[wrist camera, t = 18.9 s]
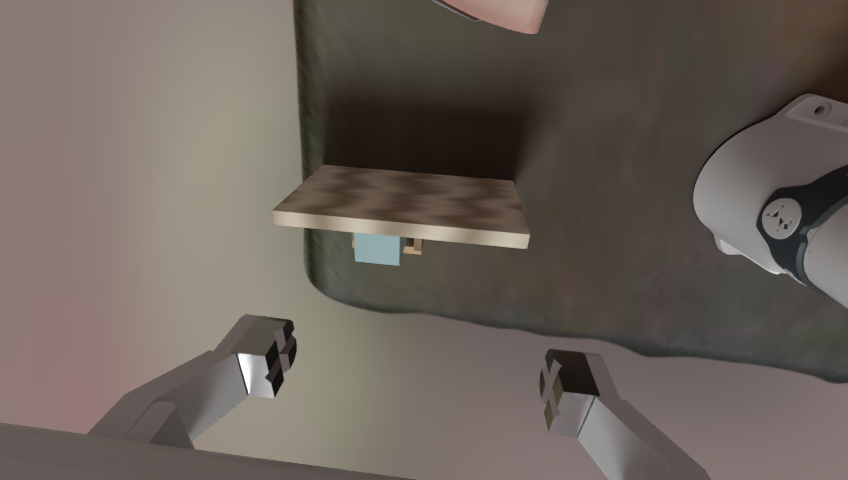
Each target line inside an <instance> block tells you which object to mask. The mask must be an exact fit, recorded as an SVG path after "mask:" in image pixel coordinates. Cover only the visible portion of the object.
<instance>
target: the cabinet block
mask: <svg viewBox="0 0 848 480" xmlns="http://www.w3.org/2000/svg"><path fill="white" fill-rule="evenodd" d="M406 241H407V237H397V236H387V235H377V234H366V233H356V232H354V245H355V261H358V262H368V263H378V264H387V265H397V266H399V264H400V261H401V258H402V254H403V251H404V247H405V244H406Z"/></svg>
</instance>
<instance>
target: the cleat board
mask: <svg viewBox="0 0 848 480" xmlns="http://www.w3.org/2000/svg"><path fill="white" fill-rule="evenodd" d="M272 214H273V219H274V224H275V225H283V226H294V227H303V228H314V229H324V230H335V231H345V232H352V248H355V245H354V232H356V233H366V234H377V235H387V236H397V237H407V241H406V244H405V247H404V251H403V253H410V254H420V255H421V253H422V248H423V243H424V239H429V240H439V241H450V242H460V243H470V244H481V245H491V246H502V247H512V248H523V249H527V246H528V242H529V237H530V233H529V230H528V227H527V224H526V220H525V217H524V214H523V211H522V208H521V205H520V202H519V199H518V195H517V192H516V189H515V186H514V183H513V181H510V180H498V179H486V178H475V177H463V176H451V175H439V174H427V173H415V172H404V171H392V170H380V169H368V168H356V167H344V166H333V165H322V166H321V167H320V168H319V169H318V170H317V171H315V172H314V173H313V174H312V175H311V176H310V177H309V178H308V179H307V180H305V181H304V182H303V183H302V184H301V185H300V186H299V187H298V188H297V189H295V190H294V191H293V192H292V193H291V194H290V195H289V196H288V197H287V198H285V199H284V200H283V201H282V202H281V203H280V204H279V205H278V206H276V208H274V209H273V210H272Z"/></svg>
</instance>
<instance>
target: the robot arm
mask: <svg viewBox="0 0 848 480" xmlns="http://www.w3.org/2000/svg"><path fill="white" fill-rule="evenodd" d="M818 107H819V109H818V111H817V112H815V110H816V109H817V108H818ZM693 200H694V208H695V211H696V214H697V216H698V217H699V219H700V220H701V222H702V223H703V224H704V225H705V226H706V227H707V228H709V229H710V230H711V231H712V233H713V234H714V237H715V241H716V245H717V247H718V249H719V250H721V251H722V252H724V253H726V254H729V255H734V254H742V255H744V256H746V257H747V258H749V259H750V260H752V261H753V262H755V263H756V264H758V265H760V266H761V267H763V268H764V269H766V270H767V271H769V272H771V273H774V274H779V273H788V274H789V275H790V276H791V277H792V278H794V279H795V280H797V281H798V282H800V283H801V284H803V285H805V286H808V287H809V288H811V289H812V290H814V291H816V292H818V293H821V294H824V295H828V296H831V297H832V298H833V299H835V300H836V301H838V302H839V303H840V304H842V305H843V306H845V307H846V308H847V309H848V104H846V103H843V102H839V101H836V100H832V99H829V98H826V97H822V96H819V95H816V94H804V95H801V96H800V97H798V98H796V99H795V100H793V101H792V102H791V103H789V104H788V105H787V106H785V107H784V108H783V109H782V110H780V111H779V112H778V113H777V114H776V115H774V116H773V117H771V118H769V119H767V120H765V121H762V122H760V123H758V124H756V125H753V126H751V127H749V128H747V129H745V130H743V131H742V132H740V133H738V134H737V135H735V136H734V137H732V138H731V139H730V140H728V141H727V142H726V143H725V144H723V145H722V146H721V147H720V148H719V149H718V150H717V151H716V152H715V153H714V154H713V155H712V156H711V158H710V159H709V160H708V162H707V163H706V164H705V166H704V167H703V169H702V171H701V173H700V175H699V177H698V179H697V182H696V185H695V189H694V197H693ZM293 331H294V325H293V321H291V320H287V319H280V318H273V317H265V316H255V315H248V314H246V315H244V316H242V317H241V318H240V319H239V320H238V322H237V323H236V324H235V325H234V327H233V328H232V329H231V330H230V331H229V333H228V334H227V335H226V336H225V338H224V339H223V340H222V341H221V343H220V344H219V345H218V346H217V348H216V349H215V350H214V351H207V352H205V353H203V354H202V355H200V356H198V357H196V358H194V359H192V360H190V361H188V362H186V363H184V364H182V365H180V366H178V367H177V368H175V369H173V370H171V371H169V372H167V373H165V374H163V375H161V376H160V377H158V378H155V379H154V380H152V381H150V382H148V383H146V384H144V385H142V386H140V387H138V388H136V389H134V390H133V391H131V392H129V393H127V394H125V395H124V396H123V397H122V398H121V399H120V400H119V401H118V402H117V403H116V404H115V405H114V406H113V407H112V408H111V409H110V410H109V411H108V412H107V414H106V415H105V416H104V417H103V418H102V419H101V420H100V421H99V422H98V423H97V424H96V425H95V426H94V427H93V428H92V429H91V430H90V431H89V432H88V433H87V434H79V433H72V432H65V431H58V430H50V429H43V428H36V427H28V426H21V425H14V424H7V423H0V480H414V479H407V478H400V477H392V476H385V475H377V474H371V473H363V472H356V471H348V470H341V469H334V468H327V467H320V466H312V465H305V464H297V463H291V462H283V461H276V460H268V459H261V458H254V457H247V456H240V455H232V454H225V453H218V452H209V451H203V450H196V449H195V448H194V446H193V443H192V441H193V440H194V439H195V438H197V437H198V436H199V435H200V434H202V433H203V432H204V431H206V430H207V429H208V428H209V427H211V426H212V425H213V424H214V423H216V422H217V421H218V420H219V419H221V418H222V417H223V416H224V415H226V414H227V413H228V412H230V411H231V410H232V409H233V408H235V407H236V406H237V405H238V404H240V403H241V402H242V401H243V400H245V399H246V398H247V397H248V396H259V397H268V398H275V396H276V395H277V393H278V391H279V389H280V387H281V385H282V383H283V381H284V376H283V373H284V372H286V371H287V370H289V369H290V368H291V366H292V364H293V362H294V360H295V356H296V352H297V343H296V339H295V338H294V337H293V336H292V335H291V334H292V332H293ZM545 360H546V364H547V365H545V366H544V367H542V369H541V373H540V380H539V388H540V395H541V399H542V400H543V401H544V403H545V404H546V407H545V410H544V415H545V419H546V424H547V429H548V432H549V433H554V434H561V435H566V436H573V437H578V440H579V441H580V443H581V444H582V445H583V447H584V448H585V449H586V450H587V452H588V453H589V454H590V456H591V457H592V458H593V459H594V461H595V462H596V463H597V465H598V466H599V467H600V469H601V470H602V471H603V473H604V474H605V475H606V477H607V478H608V479H609V480H711V479H710V477H709V476H708V474H707V472H706V470H705V469H703V468H702V467H701V466H700V465H699V464H698V463H697V462H695V461H694V460H693V459H692V458H691V457H690V456H689V455H688V454H686V453H685V452H684V451H683V450H682V449H681V448H680V447H678V446H677V445H676V444H675V443H674V442H673V441H672V440H671V439H669V438H668V437H667V436H666V435H665V434H664V433H663V432H661V431H660V430H659V429H658V428H657V427H656V426H655V425H653V424H652V423H651V422H650V421H649V420H648V419H647V418H646V417H644V416H643V415H642V414H641V413H640V412H638V410H636V409H635V408H634V407H633V406H632V405H631V404H630V403H629V402H627V401H626V400H621V399H620V397H619V394H618V392H617V390H616V387H615V385H614V383H613V381H612V379H611V376H610V374H609V372H608V369H607V367H606V365H605V362H604V360H603V358H602V356H601V355H600V354H595V353H585V352H582V353H581V352H575V351H564V350H555V349H549V350H548V351H547V353H546V356H545ZM247 395H248V396H247Z"/></svg>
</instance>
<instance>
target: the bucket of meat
mask: <svg viewBox="0 0 848 480" xmlns="http://www.w3.org/2000/svg"><path fill="white" fill-rule="evenodd" d="M432 1H434V2H436V3H438V4H440V5H442V6H444V7H446V8H448V9H450V10H452V11H454V12H456V13H458V14H460V15H462V16H464V17H466V18H468V19H470V20H472V21H478V20H484V21H486V22H489V23H492V24H495V25H498V26H501V27H504V28H507V29H510V30H514V31H518V32H522V33H528V34H535V33H538V31H539V28H540V25H541V22H542V19H543V16H544V14H545V11H546V8H547V5H548V2H549V0H432Z"/></svg>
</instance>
